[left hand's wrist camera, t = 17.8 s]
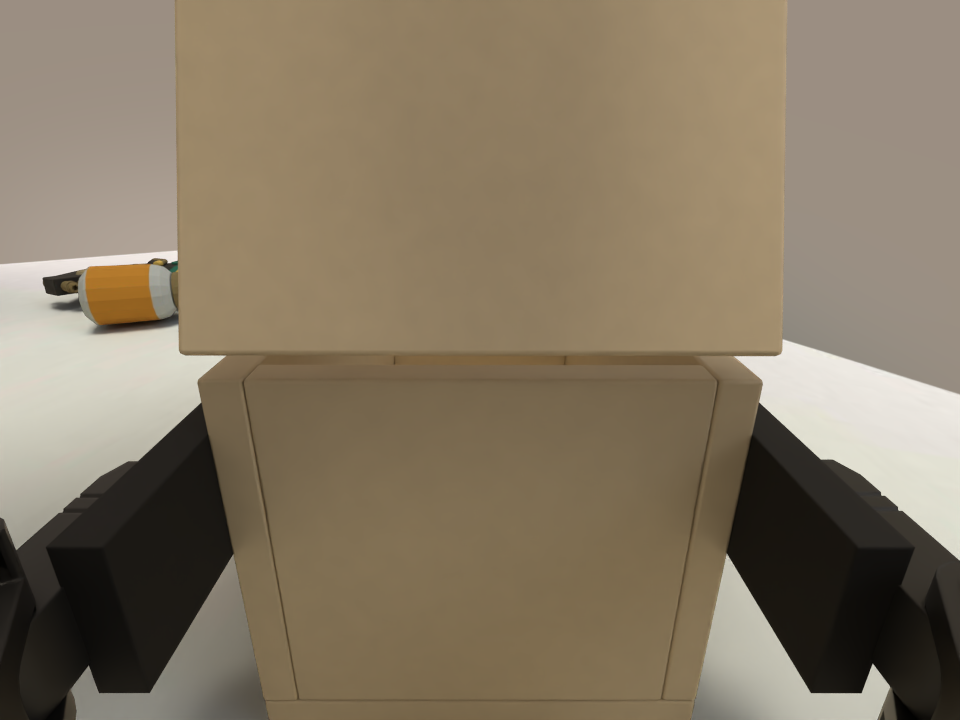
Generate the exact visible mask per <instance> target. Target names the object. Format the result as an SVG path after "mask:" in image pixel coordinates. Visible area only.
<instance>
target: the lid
mask: <svg viewBox="0 0 960 720" xmlns="http://www.w3.org/2000/svg"><path fill="white" fill-rule="evenodd" d="M786 50H787V0H175V58H176V143H177V227H178V312H179V351H180V353H181V354H183V355H261V356H777V355H779V354H781V352H782V332H783V260H784V191H785V190H784V189H785V120H786Z"/></svg>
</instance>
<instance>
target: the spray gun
mask: <svg viewBox="0 0 960 720" xmlns="http://www.w3.org/2000/svg"><path fill="white" fill-rule="evenodd" d="M167 262H168V261H167V260H166V259H158V258H154V259H152V260H151V261H149V262H148V263H147V264H132V265H117V266H92V267H88V268H87V269H84V270H79V271H75V272H70V273H66V274H62V275H58V276H52V277H44V278H43V285H44V286H45V290H46V293H47V294H52V295H57V296H60V295H67V294H74V293H78V295H79V302H80V305H81V308H82V310H83V312H84V314H85V316H86V317H88V318H89V319H90V320H91V321H93V322H94V323H95V324H97V325H106V324H117V323H128V322H138V321H149V320H160V319H164V318H167V317H170V316H172V315H173V314H174V312H175V311H176V310H177V309H178V261H175V262H172V263H167Z"/></svg>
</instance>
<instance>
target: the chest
mask: <svg viewBox="0 0 960 720" xmlns="http://www.w3.org/2000/svg"><path fill="white" fill-rule="evenodd" d="M762 386H763V383H762V380H761V379H760V378H759V377H757V376H756V375H755V374H754V373H753V372H751V371H750V370H749V369H748V368H747V367H746V366H744V365H743V364H742V363H741V362H740V361H738V360H737V359H736V358H735V357H734V356H261V355H227V356H226V357H225V358H223V359H222V360H221V361H220V362H219V363H217V364H216V365H215V366H214V367H213V368H211V369H210V370H209V371H208V372H207V373H206V374H204V375H203V376H202V377H201V378H200V379H198V388H199V393H200V397H201V402H202V407H203V412H204V416H205V421H206V426H207V431H208V435H209V440H210V445H211V450H212V454H213V459H214V464H215V469H216V473H217V478H218V483H219V488H220V492H221V497H222V502H223V507H224V511H225V516H226V521H227V526H228V530H229V535H230V540H231V545H232V549H233V554H234V559H235V564H236V569H237V573H238V578H239V583H240V588H241V592H242V597H243V602H244V607H245V611H246V616H247V621H248V626H249V630H250V635H251V640H252V645H253V649H254V654H255V659H256V664H257V668H258V673H259V678H260V683H261V688H262V692H263V697H264V699H265V703H266V708H267V713H268V718H269V720H691V716H692V712H693V707H694V699H695V698H696V694H697V689H698V685H699V680H700V675H701V671H702V666H703V661H704V657H705V652H706V647H707V643H708V638H709V633H710V629H711V624H712V619H713V615H714V610H715V605H716V601H717V596H718V591H719V587H720V582H721V577H722V573H723V568H724V563H725V559H726V554H727V549H728V545H729V540H730V535H731V530H732V526H733V521H734V516H735V512H736V507H737V502H738V498H739V493H740V488H741V484H742V479H743V474H744V470H745V465H746V460H747V456H748V451H749V446H750V442H751V437H752V432H753V428H754V423H755V418H756V414H757V409H758V404H759V400H760V395H761V390H762Z"/></svg>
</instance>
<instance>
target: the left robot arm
mask: <svg viewBox="0 0 960 720" xmlns="http://www.w3.org/2000/svg"><path fill="white" fill-rule="evenodd" d="M80 495H81V496H80V498H76V499H74V500H73V501H72V502H71V503H70V504H69V505H68V506H66V507H65V508H64V509H63V510H64V511H63V513H58V514H57V515H56V516H55V517H54V518H53V519H52V520H50V521H49V522H48V523H47V524H46V525H45V526H44V527H42V528H41V529H40V530H39V531H38V532H37V533H36V534H34V535H33V536H32V537H31V538H30V539H29V540H28V541H26V542H25V543H24V544H23V545H22V546H21V547H20V548H18V549H17V550H16V549H15V547H14V544H13V542H12V539H11V537H10V534H9V531H8V529H7V526H6V524H5V521H4V519H2V518H0V720H75V719H76V705H75V700H74V697H73V694H72V692H71V688H72V687H73V685H74V684H75V683H76V681H77V680H78V679H79V677H80V676H81V675H82V673H83V672H84V671H85V669H86V668H87V667H88V665H89V667H90V670H91V672H92V675H93V678H94V680H95V683H96V686H97V689H98V691H99V693H150V691H151V690H152V688H153V686H154V685H155V683H156V681H157V680H158V678H159V676H160V675H161V673H162V671H163V670H164V668H165V666H166V665H167V663H168V661H169V660H170V658H171V656H172V655H173V653H174V652H175V650H176V648H177V647H178V645H179V643H180V642H181V640H182V638H183V637H184V635H185V633H186V632H187V630H188V628H189V627H190V625H191V623H192V622H193V620H194V618H195V617H196V615H197V613H198V612H199V610H200V608H201V607H202V605H203V603H204V602H205V600H206V598H207V597H208V595H209V593H210V592H211V590H212V588H213V587H214V585H215V583H216V582H217V580H218V578H219V577H220V575H221V573H222V572H223V570H224V568H225V567H226V565H227V563H228V562H229V560H230V558H231V557H232V555H233V549H232V545H231V540H230V535H229V530H228V526H227V521H226V516H225V511H224V507H223V502H222V497H221V492H220V488H219V483H218V478H217V473H216V469H215V464H214V459H213V454H212V450H211V445H210V440H209V435H208V431H207V426H206V421H205V416H204V412H203V407H202V403H200V404H199V405H198V406H197V407H196V408H195V409H194V410H193V411H192V412H191V413H190V414H189V415H188V416H186V417H185V418H184V419H183V420H182V421H181V422H180V423H179V424H178V425H177V426H176V427H175V428H174V429H172V430H171V431H170V432H169V433H168V434H167V435H166V436H165V437H164V438H163V439H162V440H161V441H159V442H158V443H157V444H156V445H155V446H154V447H153V448H152V449H151V450H150V451H149V452H148V453H147V454H145V455H144V456H143V457H142V458H141V459H140V460H139V461H128V462H126V463H125V464H123V465H121V466H119V467H117V468H115V469H114V470H112V471H110V472H108V473H106V474H104V475H103V476H101V477H99V478H98V479H97V480H96V481H95V482H94V483H93V484H92V485H90V486H89V487H88V488H87V489H86V490H85V491H84V492H82V493H81V494H80ZM727 554H728V556H729V558H730V559H731V561H732V563H733V564H734V566H735V568H736V569H737V571H738V573H739V574H740V576H741V577H742V579H743V581H744V582H745V584H746V586H747V587H748V589H749V591H750V592H751V594H752V596H753V597H754V599H755V601H756V602H757V604H758V606H759V607H760V609H761V611H762V612H763V614H764V616H765V617H766V619H767V621H768V622H769V624H770V626H771V627H772V629H773V631H774V632H775V634H776V636H777V637H778V639H779V641H780V642H781V644H782V646H783V647H784V649H785V651H786V652H787V654H788V656H789V657H790V659H791V661H792V662H793V664H794V666H795V667H796V669H797V671H798V672H799V674H800V675H801V677H802V679H803V680H804V682H805V684H806V685H807V687H808V689H809V690H810V692H811V693H862V691H863V688H864V685H865V682H866V680H867V677H868V674H869V672H870V669H871V666H872V663H873V664H874V666H875V667H876V668H877V669H878V671H879V672H880V673H881V675H882V676H883V677H884V679H885V680H886V681H887V683H888V684H889V685H890V689H889V692H888V694H887V697H886V699H885V702H884V704H883V707H882V709H881V712H880V715H879V717H878V720H960V561H959V560H958V559H957V558H956V557H955V556H954V555H952V554H951V553H950V552H949V551H948V550H947V549H946V548H944V547H943V546H942V545H941V544H940V543H939V542H937V541H936V540H935V539H934V538H933V537H932V536H931V535H929V534H928V533H927V532H926V531H925V530H924V529H923V528H921V527H920V526H919V525H918V524H917V523H916V522H914V521H913V520H912V519H911V518H910V517H909V516H908V515H906V514H905V513H904V512H903V511H898V507H897V506H896V505H895V504H894V503H893V502H891V501H890V500H889V499H888V498H887V497H886V496H881V492H880V491H879V490H878V489H876V488H875V487H874V486H873V485H872V484H871V483H870V482H868V481H867V480H866V479H865V478H864V477H863V476H862V475H860V474H858V473H857V472H855V471H853V470H851V469H849V468H847V467H845V466H844V465H842V464H840V463H838V462H836V461H834V460H821V459H819V458H818V457H817V456H816V455H815V454H814V453H813V452H812V451H811V450H810V449H809V448H808V447H806V446H805V445H804V444H803V443H802V442H801V441H800V440H799V439H798V438H797V437H796V436H795V435H794V434H792V433H791V432H790V431H789V430H788V429H787V428H786V427H785V426H784V425H783V424H782V423H781V422H780V421H778V420H777V419H776V418H775V417H774V416H773V415H772V414H771V413H770V412H769V411H768V410H767V409H766V408H764V407H763V406H762V405H761V404H760V403H759V404H758V409H757V414H756V418H755V423H754V428H753V432H752V437H751V442H750V446H749V451H748V456H747V460H746V465H745V470H744V474H743V479H742V484H741V488H740V493H739V498H738V502H737V507H736V512H735V516H734V521H733V526H732V530H731V535H730V540H729V545H728V549H727Z"/></svg>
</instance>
